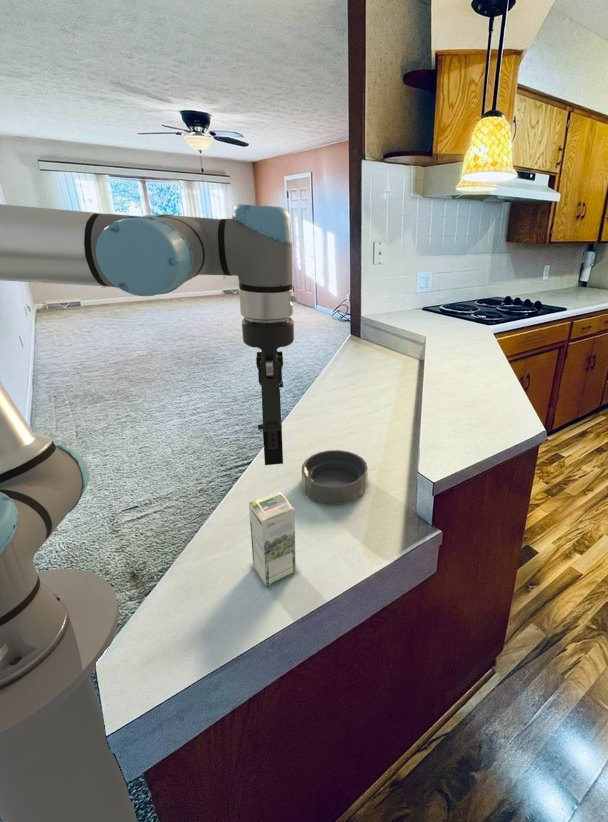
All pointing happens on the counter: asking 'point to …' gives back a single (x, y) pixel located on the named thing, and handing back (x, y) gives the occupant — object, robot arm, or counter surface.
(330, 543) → the counter surface
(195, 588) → the counter surface
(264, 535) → the syrup box
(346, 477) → the bowl
